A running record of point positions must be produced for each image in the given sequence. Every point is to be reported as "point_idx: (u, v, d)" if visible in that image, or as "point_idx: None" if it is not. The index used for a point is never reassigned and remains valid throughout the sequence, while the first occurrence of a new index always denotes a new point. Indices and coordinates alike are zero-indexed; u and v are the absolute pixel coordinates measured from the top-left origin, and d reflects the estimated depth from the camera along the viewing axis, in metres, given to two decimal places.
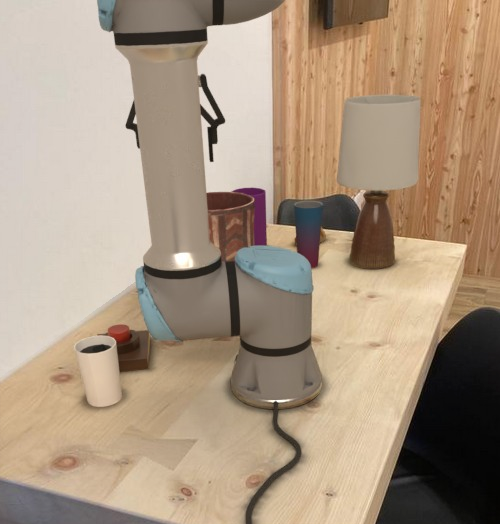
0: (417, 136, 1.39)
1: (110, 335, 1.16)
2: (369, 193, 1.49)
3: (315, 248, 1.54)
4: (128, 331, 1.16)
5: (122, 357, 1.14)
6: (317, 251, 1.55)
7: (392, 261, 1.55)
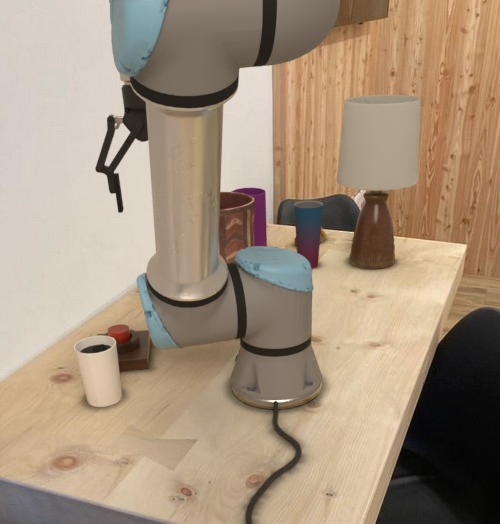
0: (417, 136, 1.39)
1: (110, 335, 1.16)
2: (369, 193, 1.49)
3: (315, 248, 1.54)
4: (128, 331, 1.16)
5: (122, 357, 1.14)
6: (317, 251, 1.55)
7: (392, 261, 1.55)
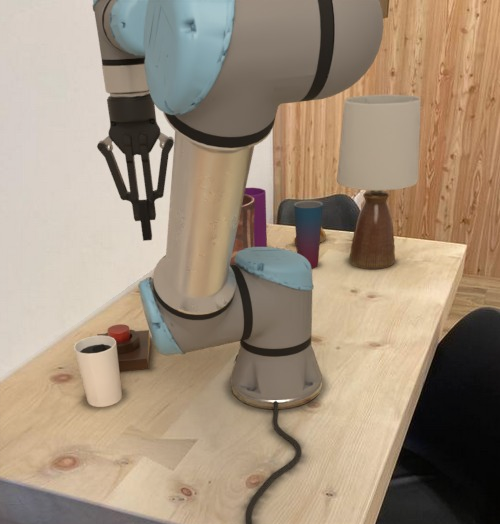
0: (417, 136, 1.39)
1: (110, 335, 1.16)
2: (369, 193, 1.49)
3: (315, 248, 1.54)
4: (128, 331, 1.16)
5: (122, 357, 1.14)
6: (317, 251, 1.55)
7: (392, 261, 1.55)
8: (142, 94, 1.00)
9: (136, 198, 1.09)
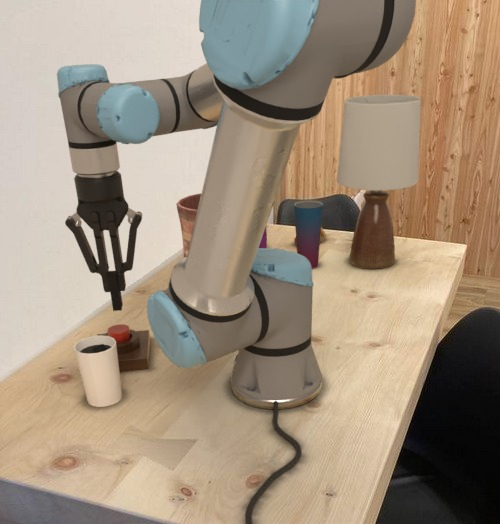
0: (417, 136, 1.39)
1: (110, 335, 1.16)
2: (369, 193, 1.49)
3: (315, 248, 1.54)
4: (128, 331, 1.16)
5: (122, 357, 1.14)
6: (317, 251, 1.55)
7: (392, 261, 1.55)
8: (109, 174, 1.01)
9: (105, 271, 1.10)
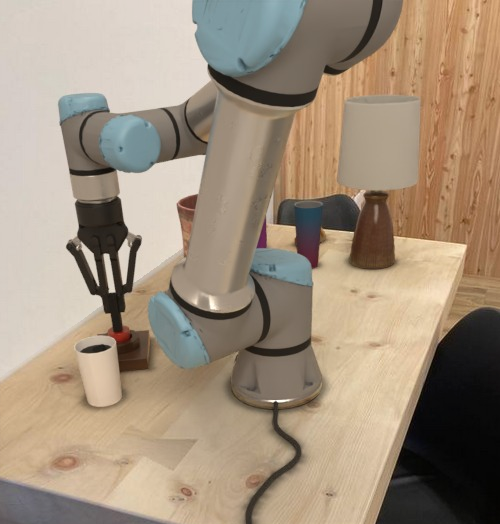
0: (417, 136, 1.39)
1: (110, 336, 1.16)
2: (369, 193, 1.49)
3: (315, 248, 1.54)
4: (128, 332, 1.16)
5: (122, 357, 1.14)
6: (317, 251, 1.55)
7: (392, 261, 1.55)
8: (109, 200, 1.02)
9: (105, 293, 1.12)
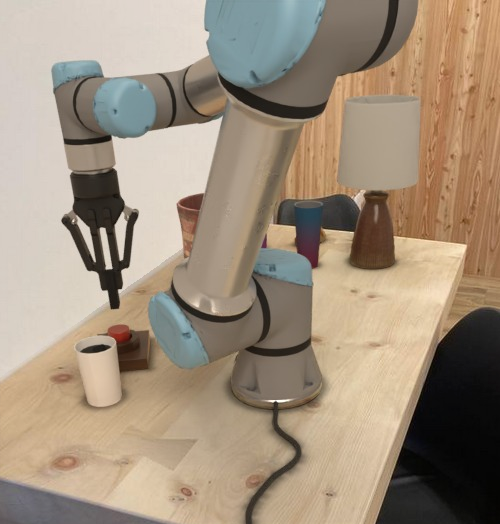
0: (417, 136, 1.39)
1: (110, 335, 1.16)
2: (369, 193, 1.49)
3: (315, 248, 1.54)
4: (128, 331, 1.16)
5: (122, 357, 1.14)
6: (317, 251, 1.55)
7: (392, 261, 1.55)
8: (104, 171, 1.00)
9: (102, 269, 1.09)
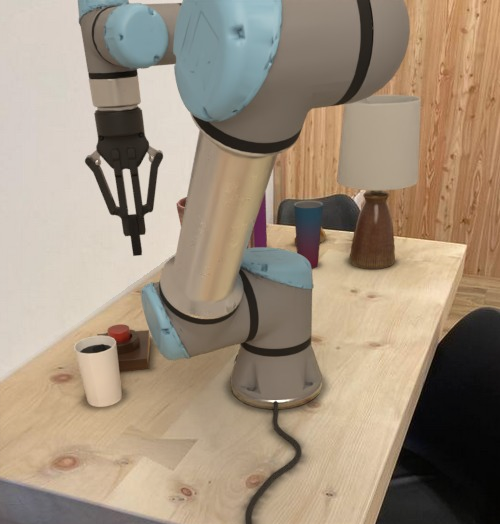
0: (417, 136, 1.39)
1: (110, 335, 1.16)
2: (369, 193, 1.49)
3: (315, 248, 1.54)
4: (128, 331, 1.16)
5: (122, 357, 1.14)
6: (317, 251, 1.55)
7: (392, 261, 1.55)
8: (130, 108, 0.98)
9: (125, 213, 1.07)
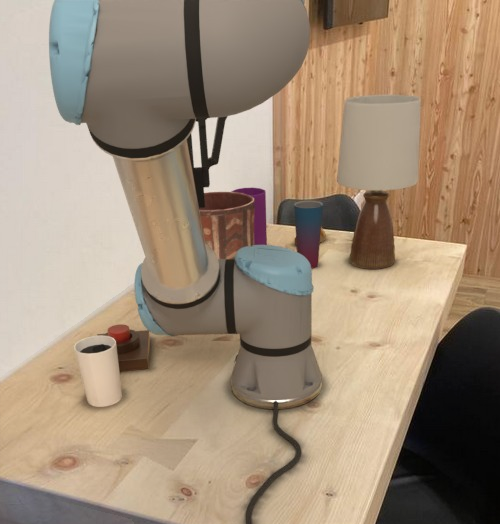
0: (417, 136, 1.39)
1: (110, 335, 1.16)
2: (369, 193, 1.49)
3: (315, 248, 1.54)
4: (128, 331, 1.16)
5: (122, 357, 1.14)
6: (317, 251, 1.55)
7: (392, 261, 1.55)
8: None
9: (192, 165, 1.11)
